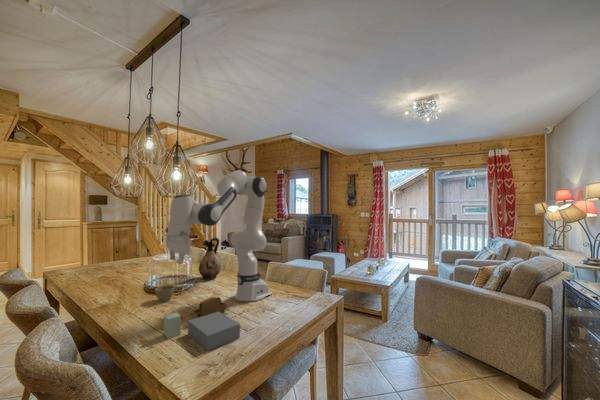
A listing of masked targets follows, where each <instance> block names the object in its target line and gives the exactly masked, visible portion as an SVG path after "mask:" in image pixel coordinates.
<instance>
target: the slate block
mask: <svg viewBox="0 0 600 400" xmlns="http://www.w3.org/2000/svg"><path fill="white" fill-rule="evenodd" d="M187 322H188V323H187V325H188V326H187V334H188V335H189V337H191V338H192V339H193V341H195V342H196V343H198V344H199V345H200V346H201V347H202V348H203V349H204V350H206V351H207V352H208V351H211V350H214V349H216V348H218V347H221V346H223V345H226V344H228V343H230V342H234V341H235V340H238V339H240V337H241V335H240V334H241V332H240V331H241V327H240V326H241V324H240V323H239V322H237V321H236V320H233V319H232V318H231V317H229V316H228V315H226V314H225V313H223V314H222V313H220V312H215V313H212V314H209V315H205V316H202V317H199V318H198V317H196V318H193V319H189V320H188V321H187Z"/></svg>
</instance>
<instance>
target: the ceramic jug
mask: <svg viewBox="0 0 600 400" xmlns="http://www.w3.org/2000/svg"><path fill="white" fill-rule="evenodd" d="M214 242H216V244H214ZM219 244H220V240H219V238H218V237H212V238H211V239H210V241H209V240H207V239H205V240H204V241H203V242H202V246H205V247H207V251H206V253H204V255H203V257H202V258H201V259H200V261H199V264H198V265H199V266H198V272H199V274H200V275H201V277H202V280H205V281H210V279H211V280H214V278H215V279H216V278H217V276H218V275H219V274H220V271H221V269H222V267H221V261H220V259H219V257H218V254H217V253H218V252H217V251H218V247H219V246H220V245H219Z"/></svg>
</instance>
